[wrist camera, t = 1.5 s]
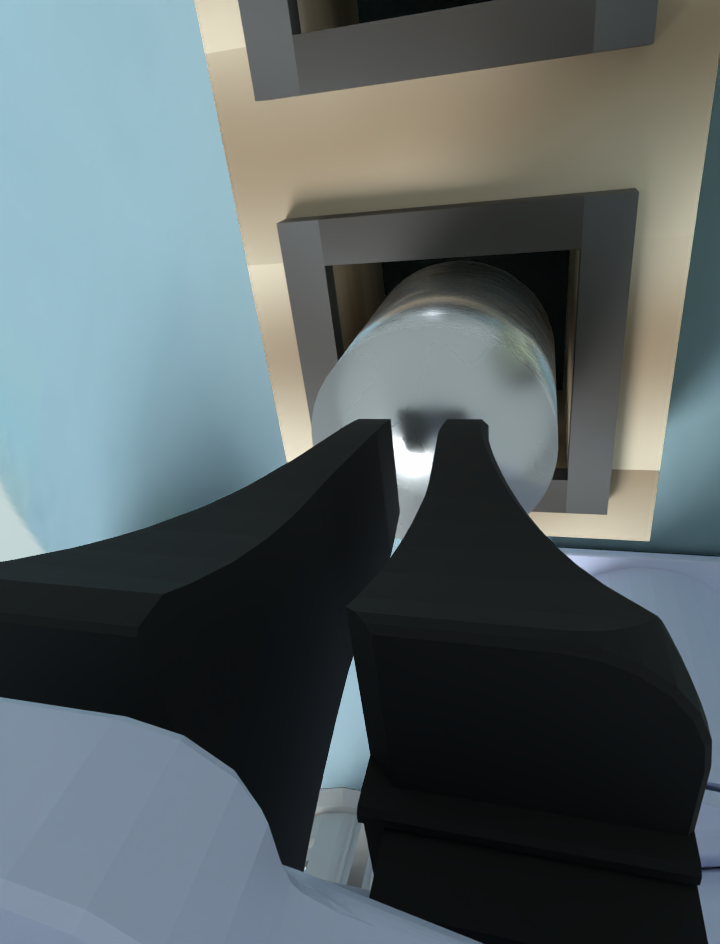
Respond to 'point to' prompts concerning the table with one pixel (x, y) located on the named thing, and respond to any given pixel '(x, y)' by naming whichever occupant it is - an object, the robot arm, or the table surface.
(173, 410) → the table surface
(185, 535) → the robot arm
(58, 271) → the table surface
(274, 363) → the birch block
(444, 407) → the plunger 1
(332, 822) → the french press
